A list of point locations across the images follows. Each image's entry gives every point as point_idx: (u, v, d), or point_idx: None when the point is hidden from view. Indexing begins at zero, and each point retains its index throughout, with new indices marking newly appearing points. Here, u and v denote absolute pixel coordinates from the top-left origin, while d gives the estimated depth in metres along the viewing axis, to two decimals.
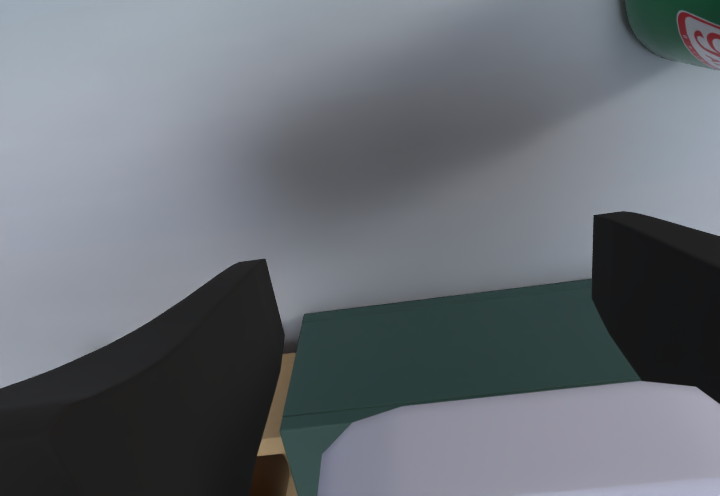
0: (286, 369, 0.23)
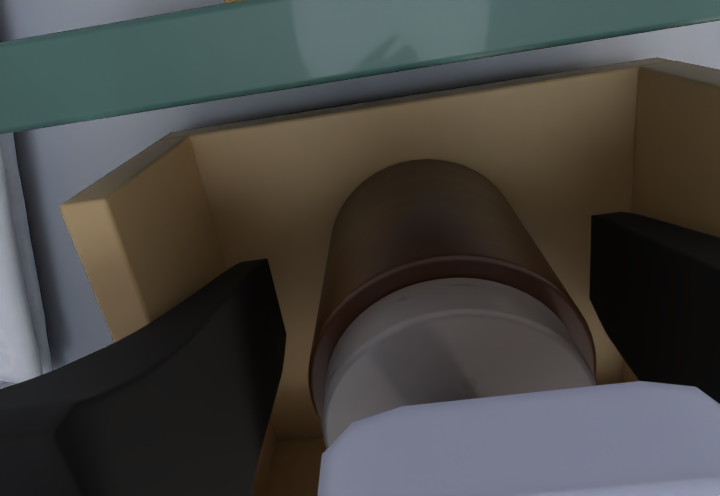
0: None
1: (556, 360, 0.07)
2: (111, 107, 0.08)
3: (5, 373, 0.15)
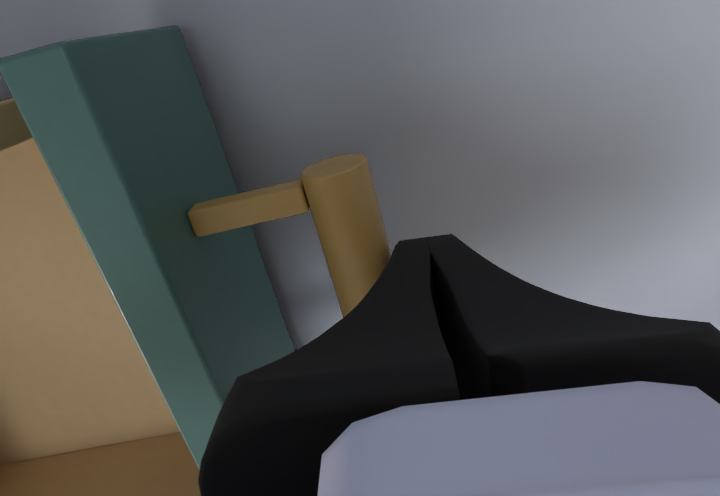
0: None
1: None
2: (61, 183, 0.09)
3: None
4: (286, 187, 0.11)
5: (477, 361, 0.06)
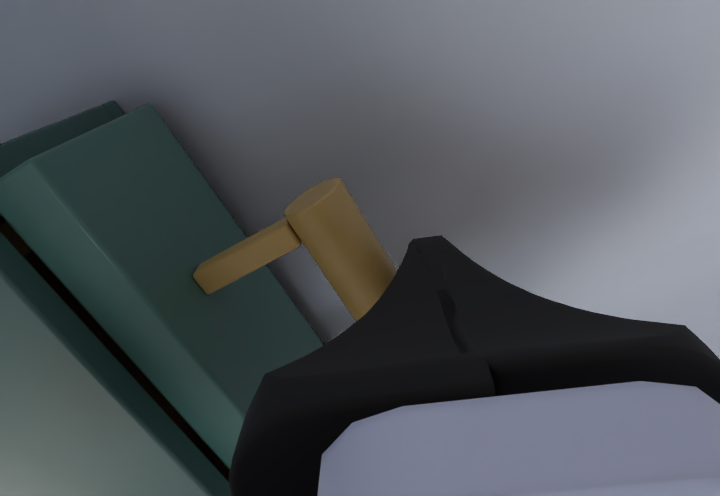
0: None
1: None
2: (66, 281, 0.10)
3: None
4: (274, 229, 0.11)
5: None
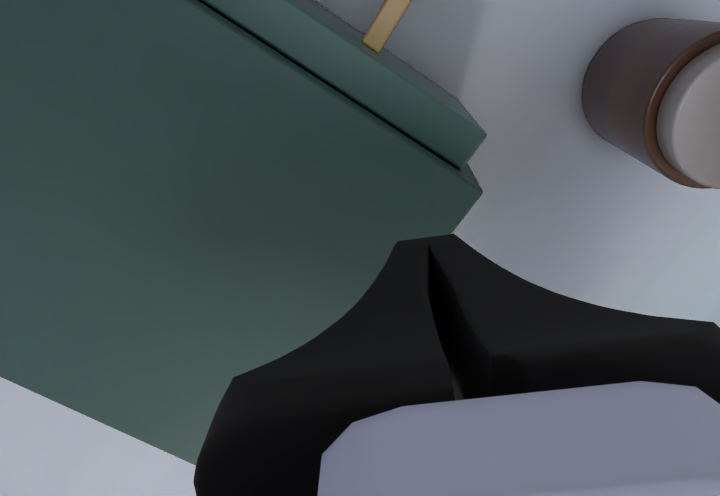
0: None
1: None
2: None
3: None
4: None
5: (480, 361, 0.06)
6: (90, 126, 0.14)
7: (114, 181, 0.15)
